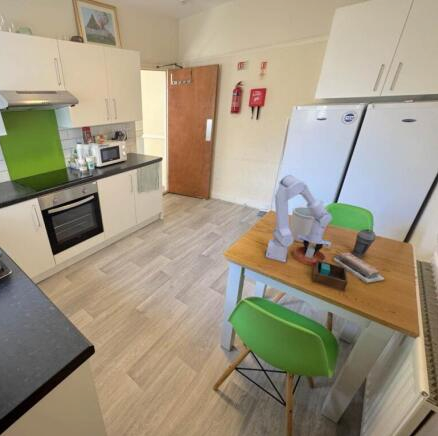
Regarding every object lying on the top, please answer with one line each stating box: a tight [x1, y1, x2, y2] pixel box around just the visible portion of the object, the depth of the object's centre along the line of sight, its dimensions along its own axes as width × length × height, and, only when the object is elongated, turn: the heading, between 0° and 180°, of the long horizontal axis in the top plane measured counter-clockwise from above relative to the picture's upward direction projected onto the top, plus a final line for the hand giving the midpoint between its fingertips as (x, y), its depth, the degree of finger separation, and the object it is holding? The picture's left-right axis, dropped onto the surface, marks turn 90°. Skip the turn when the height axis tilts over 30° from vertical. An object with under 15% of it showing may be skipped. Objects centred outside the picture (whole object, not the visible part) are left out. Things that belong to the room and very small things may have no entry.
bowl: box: [292, 245, 327, 267], centre depth 125 cm, size 14×14×3 cm
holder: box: [312, 260, 349, 292], centre depth 110 cm, size 11×11×6 cm
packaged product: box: [332, 251, 385, 284], centre depth 115 cm, size 18×5×10 cm
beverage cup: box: [352, 223, 377, 259], centre depth 122 cm, size 7×7×20 cm
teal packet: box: [319, 263, 330, 276], centre depth 112 cm, size 3×5×5 cm
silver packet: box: [305, 244, 316, 258], centre depth 126 cm, size 3×5×5 cm
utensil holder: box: [289, 205, 314, 243], centre depth 140 cm, size 15×15×18 cm
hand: (309, 253), depth 127 cm, fingers closed on silver packet, 3 cm apart
